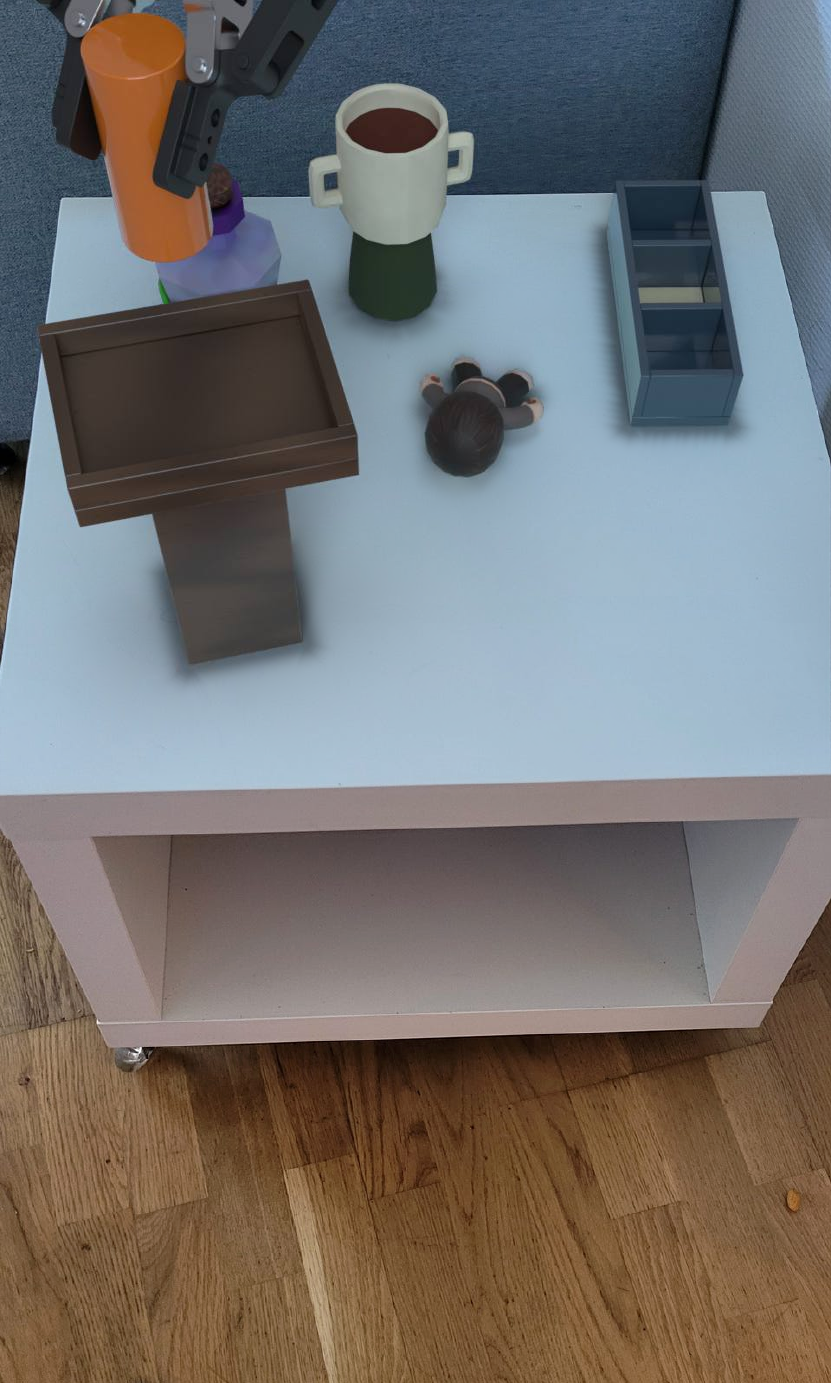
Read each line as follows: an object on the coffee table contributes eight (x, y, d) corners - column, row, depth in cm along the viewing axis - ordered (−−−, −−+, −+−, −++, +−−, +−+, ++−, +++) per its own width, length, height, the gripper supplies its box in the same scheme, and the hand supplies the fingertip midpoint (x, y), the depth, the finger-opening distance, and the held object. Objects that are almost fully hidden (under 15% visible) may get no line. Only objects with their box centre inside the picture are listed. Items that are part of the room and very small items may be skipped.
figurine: (430, 393, 90) (387, 476, 84) (436, 324, 86) (392, 407, 80) (548, 420, 89) (513, 506, 83) (559, 353, 85) (523, 438, 79)
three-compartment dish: (696, 234, 95) (709, 179, 91) (728, 426, 87) (743, 375, 84) (606, 234, 95) (615, 180, 91) (630, 426, 87) (641, 376, 83)
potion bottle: (141, 326, 91) (106, 164, 80) (244, 274, 93) (224, 110, 82) (210, 400, 88) (184, 243, 77) (314, 344, 90) (303, 185, 79)
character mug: (451, 248, 94) (459, 68, 83) (481, 316, 91) (493, 140, 80) (305, 276, 93) (291, 98, 81) (330, 346, 90) (320, 172, 78)
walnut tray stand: (326, 519, 84) (308, 278, 67) (366, 657, 79) (358, 435, 63) (108, 561, 82) (36, 324, 66) (137, 704, 78) (67, 489, 61)
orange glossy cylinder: (204, 193, 58) (175, 5, 51) (221, 254, 56) (194, 69, 49) (114, 208, 57) (73, 20, 50) (129, 270, 56) (88, 85, 49)
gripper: (24, -468, 44) (-82, 88, 50) (391, -361, 41) (229, 213, 48) (141, -335, 51) (35, 140, 57) (463, -235, 48) (313, 252, 54)
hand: (124, 170), depth 52 cm, fingers closed on orange glossy cylinder, 4 cm apart
